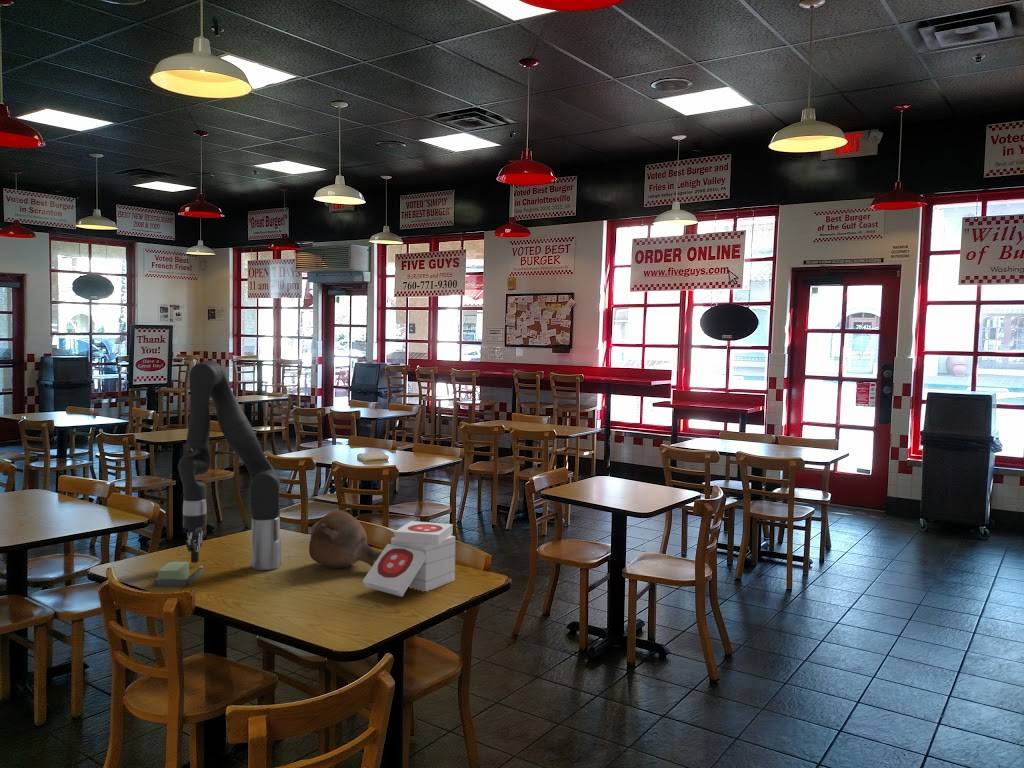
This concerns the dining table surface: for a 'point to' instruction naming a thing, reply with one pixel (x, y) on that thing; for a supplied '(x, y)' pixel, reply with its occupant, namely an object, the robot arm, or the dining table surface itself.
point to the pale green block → (174, 571)
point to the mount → (179, 580)
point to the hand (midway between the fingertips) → (195, 562)
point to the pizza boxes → (415, 559)
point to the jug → (340, 541)
